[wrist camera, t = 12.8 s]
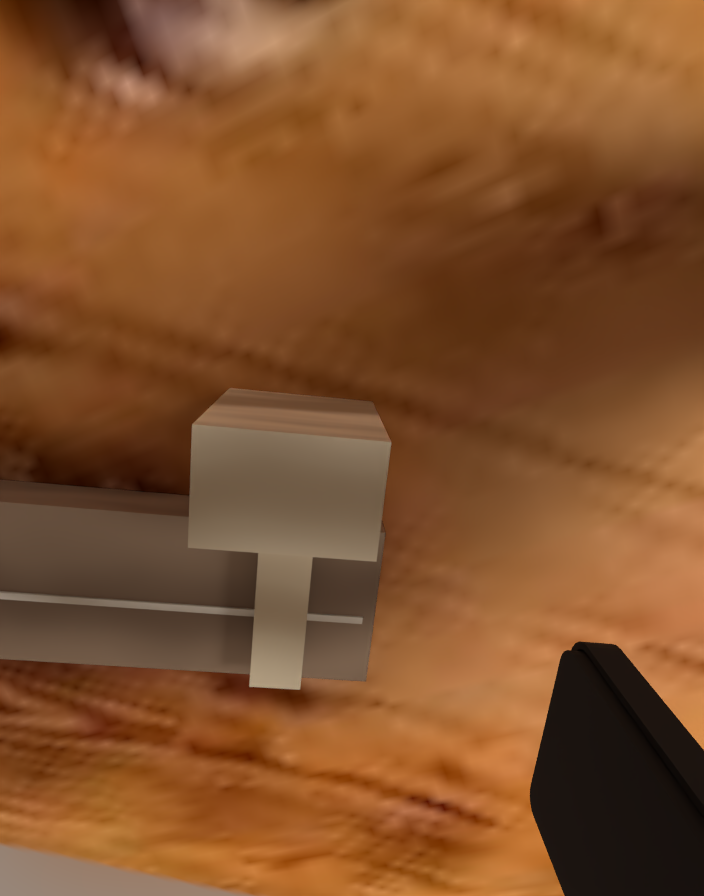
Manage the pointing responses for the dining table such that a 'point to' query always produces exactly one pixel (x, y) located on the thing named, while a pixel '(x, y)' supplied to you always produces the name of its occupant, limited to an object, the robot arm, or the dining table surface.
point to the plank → (155, 588)
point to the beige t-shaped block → (287, 503)
